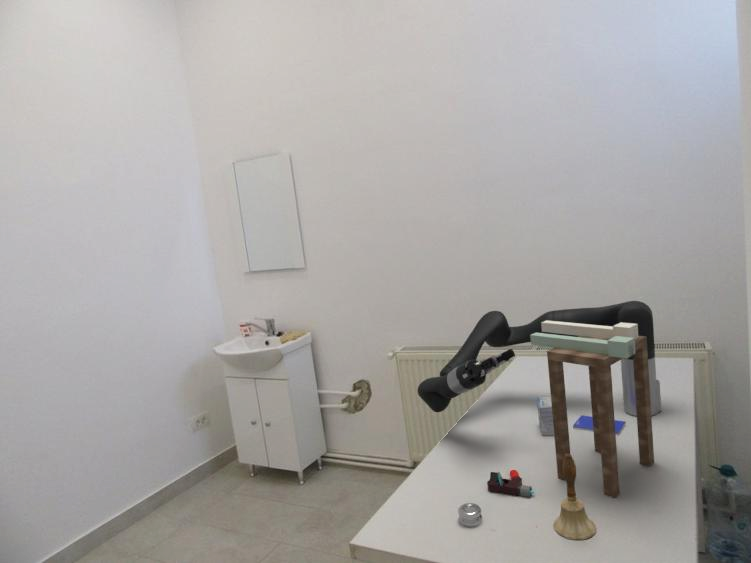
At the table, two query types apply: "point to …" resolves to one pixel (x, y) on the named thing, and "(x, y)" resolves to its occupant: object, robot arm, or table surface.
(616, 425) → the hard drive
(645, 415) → the walnut stand
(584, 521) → the hand bell
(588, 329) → the cream stick
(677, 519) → the table surface
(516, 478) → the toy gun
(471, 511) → the metal grooved wheel
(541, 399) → the medicine box
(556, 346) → the sage stick
